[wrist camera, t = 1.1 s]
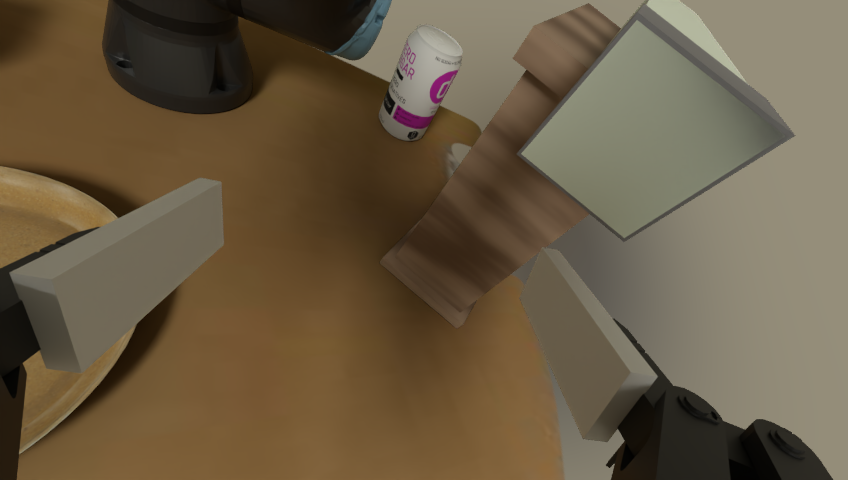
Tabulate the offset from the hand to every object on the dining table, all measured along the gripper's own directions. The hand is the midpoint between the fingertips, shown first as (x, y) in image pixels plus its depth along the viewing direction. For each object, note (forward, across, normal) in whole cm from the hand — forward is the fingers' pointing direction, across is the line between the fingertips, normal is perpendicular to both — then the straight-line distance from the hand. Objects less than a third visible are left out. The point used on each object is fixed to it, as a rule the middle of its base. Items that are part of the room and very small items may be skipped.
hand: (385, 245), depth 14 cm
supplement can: (+47, -1, -2) cm, 47 cm away
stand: (+28, +10, -14) cm, 33 cm away
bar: (+10, +12, +9) cm, 18 cm away
